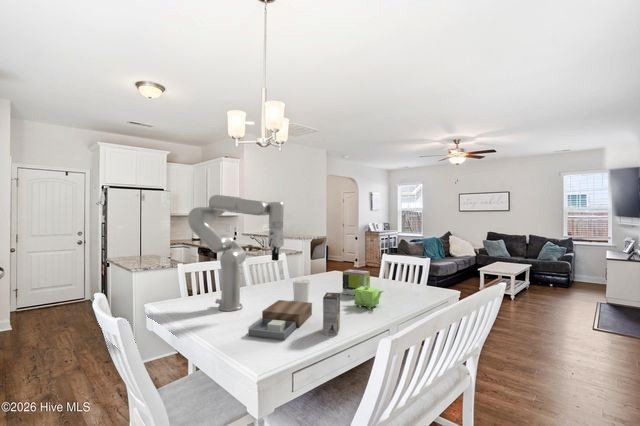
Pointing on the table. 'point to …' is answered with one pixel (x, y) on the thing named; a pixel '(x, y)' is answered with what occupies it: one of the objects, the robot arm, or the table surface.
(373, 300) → the kettle
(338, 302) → the coffee box
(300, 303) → the brown slab
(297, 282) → the candle holder
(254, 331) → the bin
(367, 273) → the tea box
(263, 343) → the table surface
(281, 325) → the tile
